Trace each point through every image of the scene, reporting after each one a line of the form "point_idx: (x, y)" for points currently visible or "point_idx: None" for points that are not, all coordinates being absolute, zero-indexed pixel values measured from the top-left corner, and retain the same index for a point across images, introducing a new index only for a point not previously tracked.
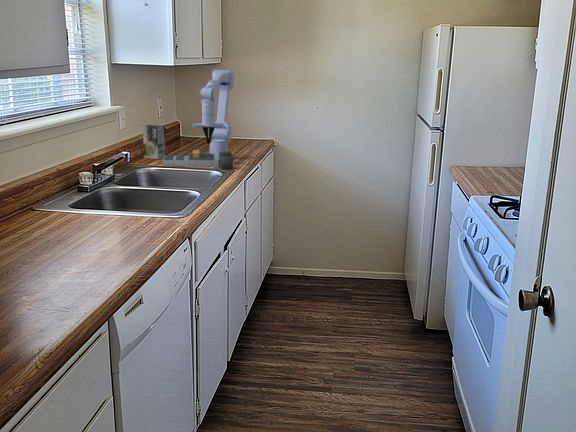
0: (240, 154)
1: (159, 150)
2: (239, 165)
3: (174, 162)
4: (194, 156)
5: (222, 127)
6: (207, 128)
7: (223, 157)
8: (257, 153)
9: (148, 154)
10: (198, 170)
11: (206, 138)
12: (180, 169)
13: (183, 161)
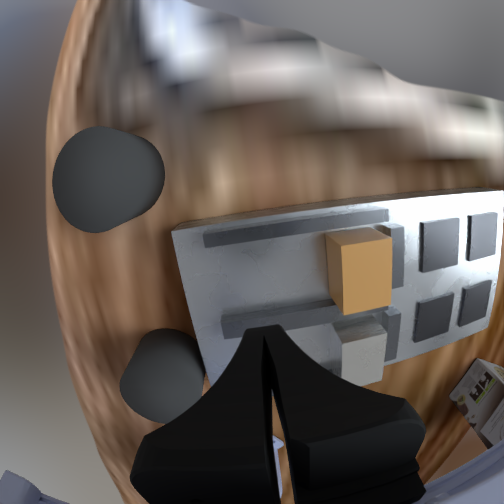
0: None
1: (490, 383)
2: (80, 287)
3: (453, 191)
4: (366, 232)
5: (16, 483)
6: (312, 500)
7: (113, 174)
8: (128, 495)
9: (502, 370)
10: (293, 71)
11: (299, 348)
12: (399, 101)
13: (416, 197)
